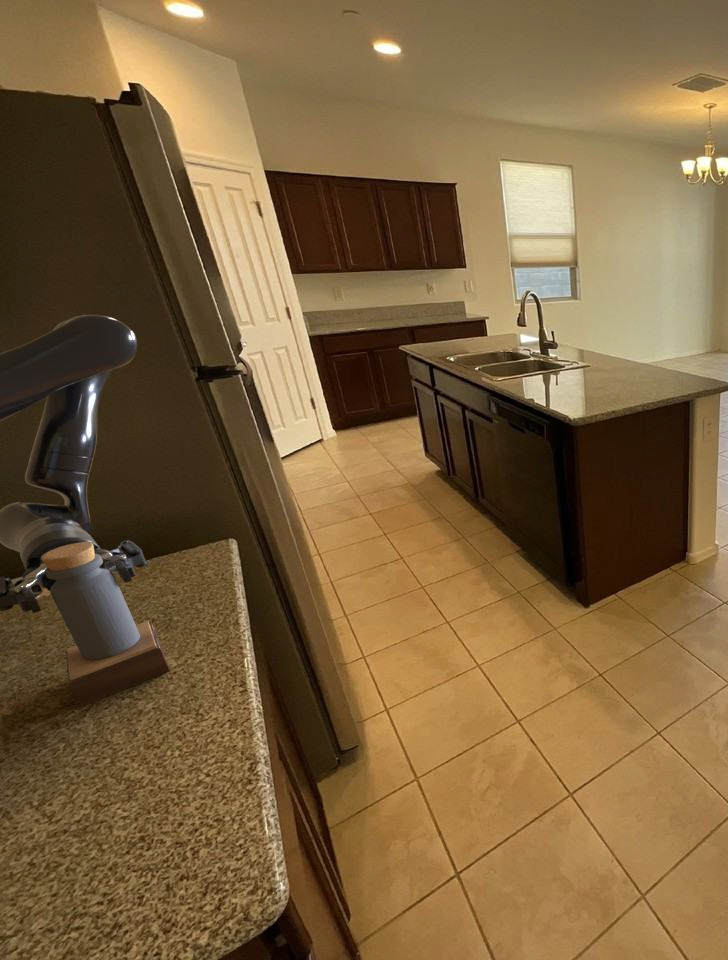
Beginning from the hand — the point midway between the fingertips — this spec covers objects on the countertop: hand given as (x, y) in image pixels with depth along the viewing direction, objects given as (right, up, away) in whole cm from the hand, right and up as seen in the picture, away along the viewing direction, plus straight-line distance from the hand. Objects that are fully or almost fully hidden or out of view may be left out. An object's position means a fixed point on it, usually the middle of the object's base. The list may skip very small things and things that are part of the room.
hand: (82, 589), depth 67 cm
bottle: (-1, -9, +4) cm, 10 cm away
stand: (-1, -13, +6) cm, 14 cm away
